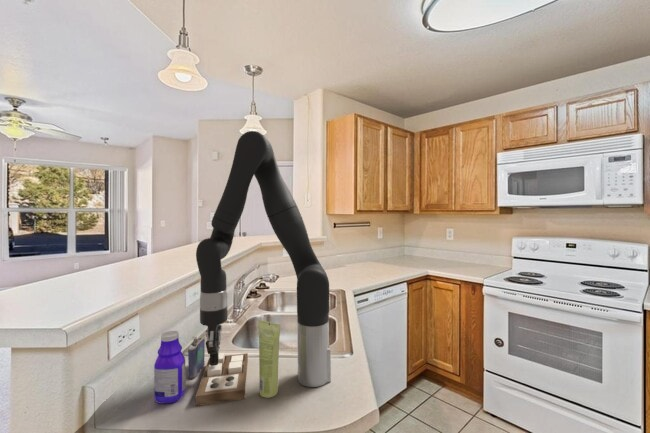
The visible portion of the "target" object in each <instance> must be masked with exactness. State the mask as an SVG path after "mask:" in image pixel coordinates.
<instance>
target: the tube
mask: <svg viewBox="0 0 650 433" xmlns="http://www.w3.org/2000/svg"><path fill="white" fill-rule="evenodd" d="M257 321H258V323H257V324H258V325H257V327H258V351H259V352H258V354H259V355H258V359H259V362H258V363H259V365H258V366H259V395H260V397H262V398H268V399H269V398H272V397H275V396H277V394H278V391H279V390H278V389H279V356H280V355H279V354H280V353H279V352H280V335H281V324H279V323H274V322H270V321H265V320H262V319H258V320H257Z"/></svg>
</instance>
